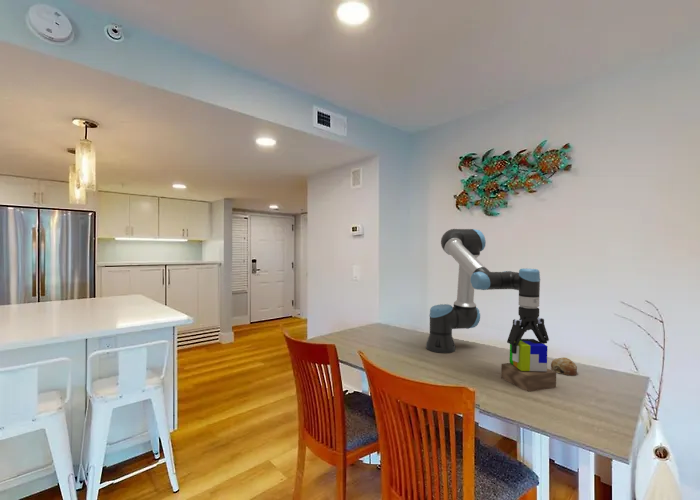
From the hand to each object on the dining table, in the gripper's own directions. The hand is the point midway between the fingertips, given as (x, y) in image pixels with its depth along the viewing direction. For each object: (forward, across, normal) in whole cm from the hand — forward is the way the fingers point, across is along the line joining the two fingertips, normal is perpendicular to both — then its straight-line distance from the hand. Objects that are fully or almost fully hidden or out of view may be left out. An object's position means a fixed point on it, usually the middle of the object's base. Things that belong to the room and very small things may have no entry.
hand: (528, 359), depth 139 cm
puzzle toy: (+3, 0, 0) cm, 3 cm away
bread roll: (+10, +26, +5) cm, 28 cm away
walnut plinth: (+9, 0, 0) cm, 9 cm away
